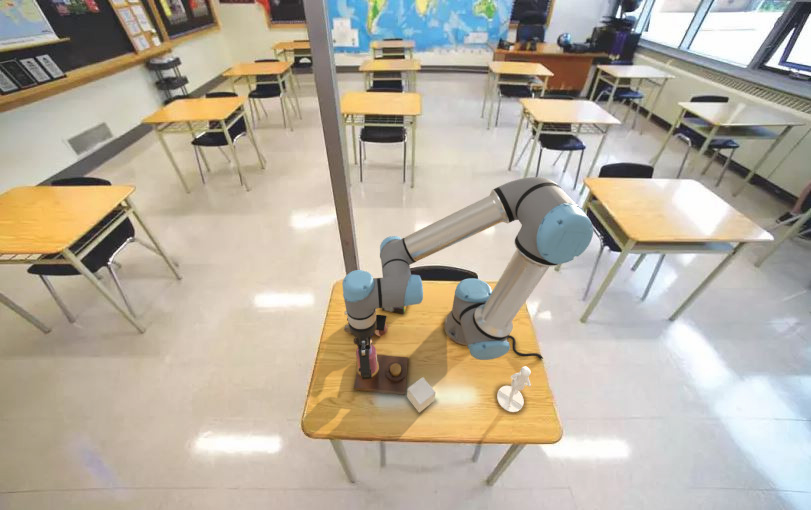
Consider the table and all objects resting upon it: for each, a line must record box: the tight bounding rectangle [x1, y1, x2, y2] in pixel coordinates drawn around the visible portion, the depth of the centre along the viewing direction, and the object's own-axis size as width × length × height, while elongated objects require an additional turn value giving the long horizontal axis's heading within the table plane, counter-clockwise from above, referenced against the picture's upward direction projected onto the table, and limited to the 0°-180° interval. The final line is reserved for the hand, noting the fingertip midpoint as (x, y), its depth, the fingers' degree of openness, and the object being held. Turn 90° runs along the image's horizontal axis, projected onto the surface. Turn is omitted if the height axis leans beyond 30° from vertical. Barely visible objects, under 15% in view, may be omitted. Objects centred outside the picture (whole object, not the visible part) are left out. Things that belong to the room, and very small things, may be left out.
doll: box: [353, 337, 379, 377], centre depth 96 cm, size 7×7×17 cm
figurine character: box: [343, 314, 388, 337], centre depth 114 cm, size 7×8×15 cm
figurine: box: [496, 366, 532, 413], centre depth 93 cm, size 8×8×18 cm
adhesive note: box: [406, 376, 436, 413], centre depth 97 cm, size 6×6×6 cm
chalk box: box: [381, 306, 407, 315], centre depth 122 cm, size 9×9×15 cm
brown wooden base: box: [353, 354, 409, 396], centre depth 103 cm, size 16×12×4 cm
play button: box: [390, 363, 401, 377], centre depth 101 cm, size 4×4×2 cm
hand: (367, 361), depth 100 cm, fingers open, 10 cm apart
